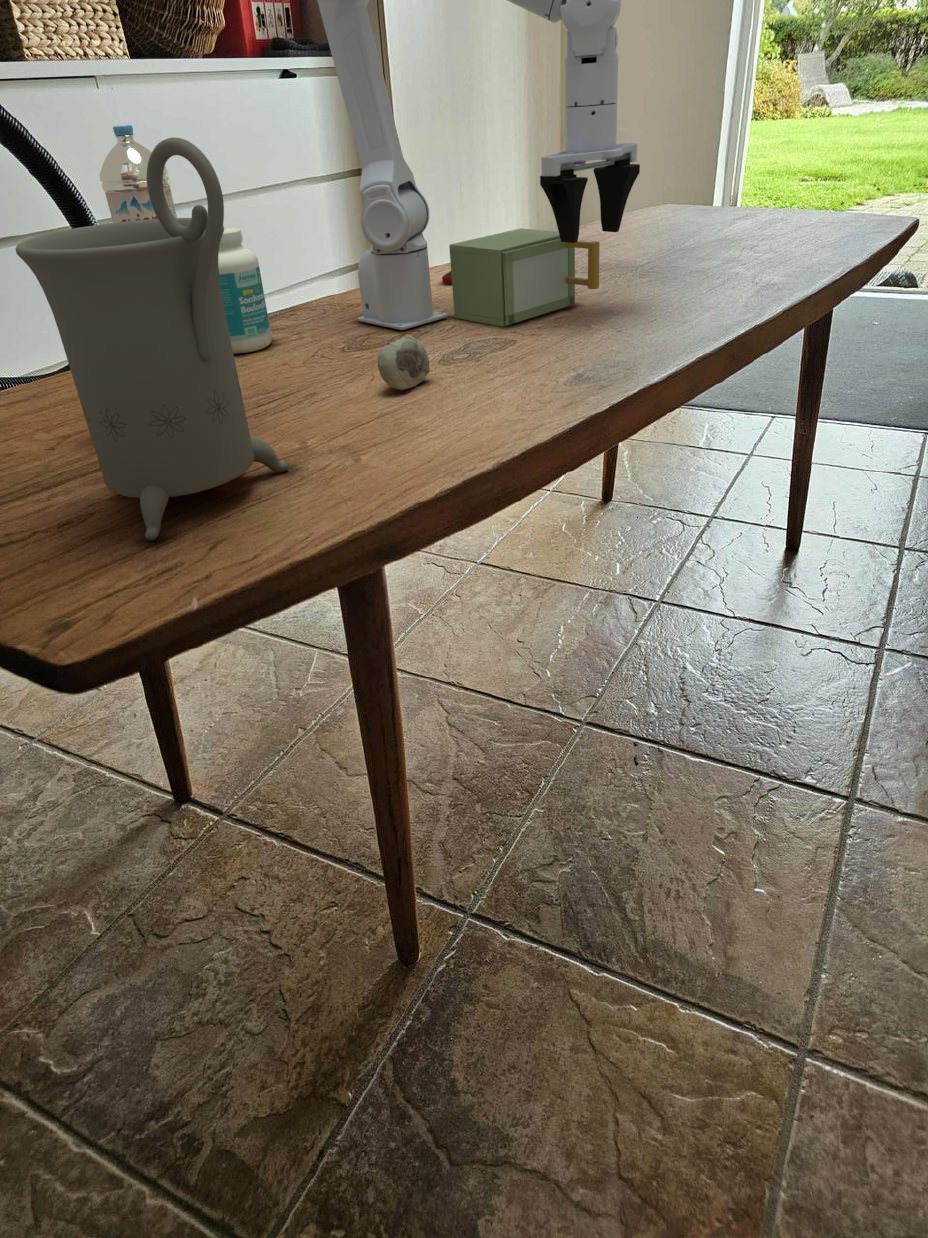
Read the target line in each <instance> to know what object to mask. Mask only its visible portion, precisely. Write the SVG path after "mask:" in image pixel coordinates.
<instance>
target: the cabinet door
mask: <svg viewBox="0 0 928 1238" xmlns="http://www.w3.org/2000/svg"><path fill="white" fill-rule="evenodd" d="M600 244H601V243H600V241H594V240H593V241H587V240H585V241H584V240H578V241H577V242H575V243H569V242H561V239H556V240H552V241H548V242H543V243H539V244H535V245H531V246H527V247H523V248H519V249H515V250H511V251H507V252H503V273H504V297H505V320H506V325H507V326H510V324H511V325H513V323H514V324H517V323H520V322H523V321H527V320H529V318H530V319H532V317H533V318H536V317H539V316H542V315H545V313H546V314H548V312H549V313H551V311H552V312H555V311H558V310H562V309H564V307H565V308H567V306H568V307H571V306H573V305H576V286H577V285H578V286H585V287H587V289H588V290H597V289H599V288H600V247H601V245H600ZM576 249H587V278H585V277H583V278H582V277H576ZM570 305H571V306H570ZM561 308H562V309H561ZM554 310H555V311H554ZM538 315H539V316H538ZM535 316H536V317H535ZM522 320H523V321H522ZM519 321H520V322H519ZM516 322H517V323H516Z"/></svg>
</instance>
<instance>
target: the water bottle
mask: <svg viewBox="0 0 928 1238" xmlns="http://www.w3.org/2000/svg"><path fill="white" fill-rule="evenodd" d="M112 130H113V133H114V138H116V140H117V142H116V144H115V145H114V146H113V147H112V148H111V150H109V152H108V154H107V155H106V157H105V158H104V161H103V163H102V166H101V168H100V172H99V181H100V182H101V188H102V191H103V192H104V195H105V198H106V201H107V206H108V210H109V213H110V217H111V220H112V223H117V222H126V221H137V220H149V219H158V218H157V216H156V214H155V212H154V209H153V207H152V204H151V201H150V197H149V193H148V187H147V166H148V161H149V158H150V155H151V153H152V151H151V150H149V149H148V148H147V147H145V146H144V145H143V144H140V143H139V142H137V141H136V140H135V138H134V136H135V134H134V129H133V125H132V124H125V125H114V126H112ZM170 184H171V179H170V177H169V171H168V169H167V167H166V165H165V166H164V170H163V190H164V195H165V198H166V201H167V204H168V207H169V209H170V211H171V213H172V214H173V216H174V217H175V218H178V216H177V211H176V207H175V203H174V199H173V194H172V190H171V185H170Z"/></svg>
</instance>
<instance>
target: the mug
mask: <svg viewBox="0 0 928 1238" xmlns="http://www.w3.org/2000/svg"><path fill="white" fill-rule="evenodd" d="M151 152H152V153H151V155H150V158H149V161H148V166H147V187H148V193H149V197H150V201H151V204H152V207H153V209H154V212H155V214H156V216H157V218H158V219H149V220H137V221H126V222H117V223H113V222H110V223H102V224H95V225H89V226H88V225H87V226H82V227H75V228H69V229H64V230H63V229H62V230H59V231H54V232H53V231H52V232H49V233H45V234H41V235H37V236H34V237H31V238H27V239H25V240H23V241H21V242H19V243H18V244H17V245H15V248H14V249H15V253H16V255H17V256H18V257H19V258H20V259H21V260H22V261H23V262H24V264H26V265H27V267H28V268H29V269H30V270H31V272H32V273H33V275H34V276H35V278H36V279H37V281H38V284H39V285H40V287H41V289H42V291H43V293H44V296H45V299H46V301H47V303H48V305H49V308H50V310H51V313H52V315H53V317H54V318H53V319H54V321H55V325H56V328H57V330H58V333H59V336H60V340H61V343H62V347H63V351H64V353H65V357H66V359H67V363H68V366H69V369H70V372H71V376H72V378H73V383H74V386H75V389H76V392H77V396H78V399H79V402H80V406H81V409H82V412H83V415H84V418H85V422H86V426H87V428H88V431H89V435H90V438H91V442H92V445H93V448H94V450H95V454H96V458H97V461H98V464H99V467H100V470H101V471H100V472H101V474H102V477H103V481H104V483H105V486H106V487H107V489H109V490H110V491H111V492H113V493H115V494H117V495H119V496H123V497H128V498H134V499H135V498H136V499H139V504H140V505H139V506H140V511H141V515H142V519H143V522H144V525H145V528H146V531H145V533H144V536H145V538H146V539H147V541H151V542H152V541H155V540H157V538H158V537H159V534H160V532H161V526H162V521H163V516H164V513H165V510H166V507H167V506H168V502H169V498H175V497H181V496H188V495H192V494H196V493H201V492H204V491H207V490H211V489H214V488H217V487H219V486H222V485H224V484H228V483H229V482H231V481H234V480H235V479H237V478H239V477H240V476H242V475H243V474H244V473H246V472H247V471H248V470H249V469H250V468H251V467H252V465H254V463H259V464H262V465H264V466H266V467H267V468H268V469H270V470H271V471H273V472H275V473H284V472H287V471H288V470H289V464H288V463H287V462H286V461H280V459H279V458H278V455H277V453H276V451H275V450H274V449H273V447H272V446H271V445H270V444H269V443H267V442H266V441H264V440H263V439H260V438H257V437H251V434H250V428H249V424H248V419H247V414H246V408H245V403H244V399H243V394H242V389H241V384H240V380H239V373H238V369H237V364H236V361H235V354H233V350H232V345H231V340H230V335H229V330H228V325H227V320H226V315H225V310H224V305H223V300H222V294H221V288H220V278H219V268H218V252H219V246H220V241H221V237H222V235H223V232H224V229H225V226H224V219H225V205H224V203H225V202H224V196H223V190H222V186H221V182H220V180H219V177H218V175H217V172H216V170H215V168H214V167H213V164H212V163H211V162H210V160H209V159H208V157H207V156H206V154H205V153H204V152H203V151H202V150H201V149H199V147H197V146H196V145H195V144H194V143H192V142H190V140H186V139H185V138H182V137H181V138H180V137H167V138H165V139H163V140H161V141H159V142H157V144H156V146H154V148H153V149H152V151H151ZM174 156H178V157H179V156H180V157H182V158H184V159H185V160H187V161H188V162H189V163H190V165H192V166H193V168H194V169H195V170H196V172H197V174H198V176H199V178H200V180H201V182H202V184H203V185H202V186H203V187H204V190H205V195H206V201H207V209H206V207H205V206H203V205H201V204H196V205H195V206H193V208H192V209H191V217H177V218H175V217H174V216H173V214H172V213H171V211H170V209H169V207H168V204H167V201H166V198H165V195H164V190H163V170H164V166H165V167H166V163H167V162H168V161H169V160H170V158H171V157H174Z"/></svg>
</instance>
